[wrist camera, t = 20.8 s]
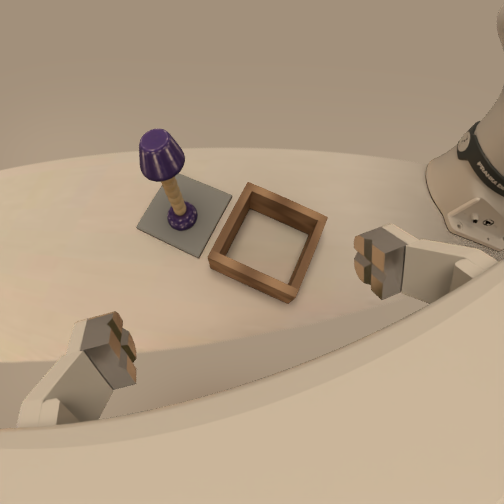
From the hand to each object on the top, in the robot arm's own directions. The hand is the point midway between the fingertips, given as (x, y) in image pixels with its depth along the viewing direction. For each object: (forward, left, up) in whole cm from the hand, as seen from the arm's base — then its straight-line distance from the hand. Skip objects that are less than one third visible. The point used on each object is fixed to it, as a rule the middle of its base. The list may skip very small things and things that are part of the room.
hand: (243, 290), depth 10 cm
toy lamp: (+13, -11, -29) cm, 34 cm away
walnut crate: (+1, -12, -29) cm, 32 cm away
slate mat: (+14, -12, -29) cm, 34 cm away
